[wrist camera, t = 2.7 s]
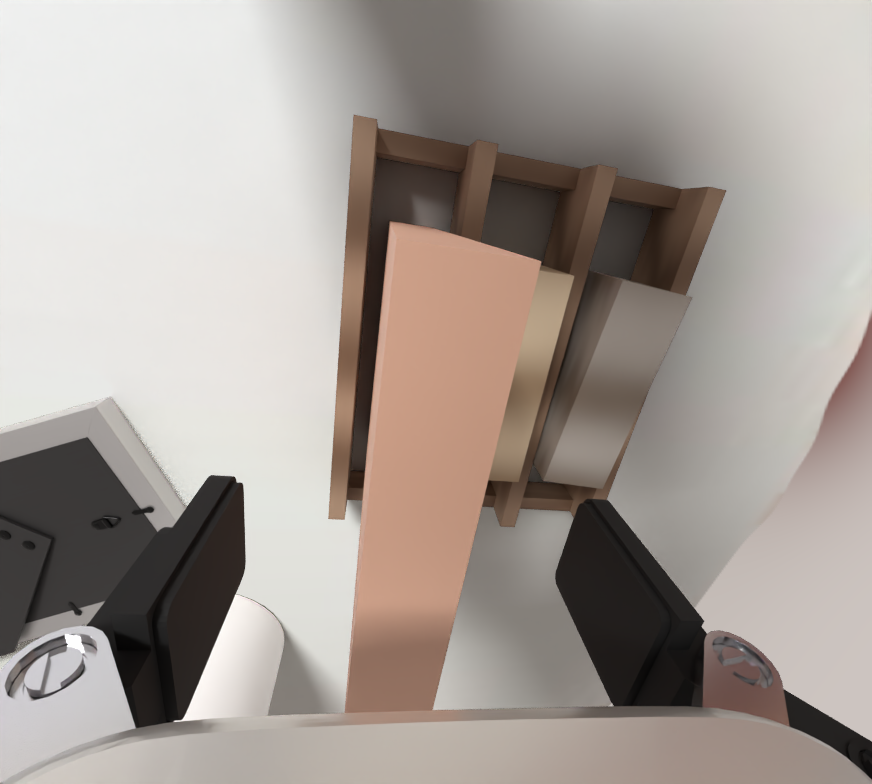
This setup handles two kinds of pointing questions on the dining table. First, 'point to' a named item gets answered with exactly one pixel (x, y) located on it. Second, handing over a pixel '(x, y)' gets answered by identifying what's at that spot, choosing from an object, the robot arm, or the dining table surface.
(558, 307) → the birch offcut
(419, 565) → the plywood sheet
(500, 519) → the offcut rack
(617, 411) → the grey offcut
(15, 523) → the picture frame
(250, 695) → the cup
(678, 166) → the dining table surface
